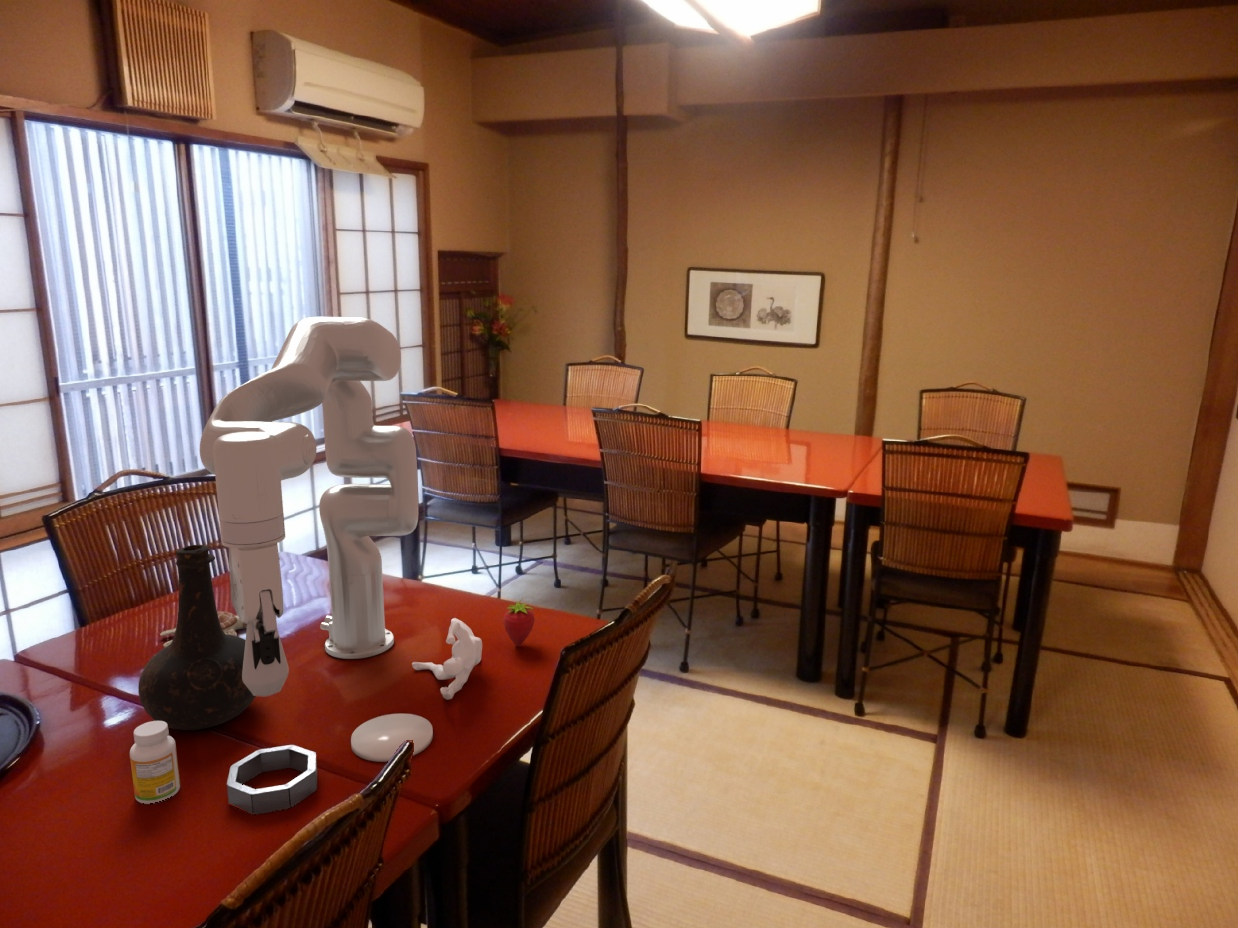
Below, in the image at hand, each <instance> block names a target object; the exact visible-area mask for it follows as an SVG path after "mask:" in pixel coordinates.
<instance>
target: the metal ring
mask: <svg viewBox="0 0 1238 928" xmlns="http://www.w3.org/2000/svg"><path fill="white" fill-rule="evenodd" d="M316 753H317V752H315V751H312V750H309V749H306V748H303V747H300V746H298V745H295V744H289V745H281V746H275V747H268V748H261V749H257V750H255V751H254V752H252V753H250V754H249V755H246V756H245V757H244V758H242V759H241V760H238V761H237V762H235V763H233V764H232V765H230V768H229V773H228V777H227V781H226V787H227V798H228V804H229V803H230V804H232V805H234V806H237V807H239V808H241V809H243V810H245V811H247V812H249V813H248V814H250V813H251V814H250V815H252V814H253V813H254V814H256V815H261V814H264V813H265V814H266V813H271V812H272V811H273V812H276V811H275V810H278V811H282V809H284V810H288V808H290V807H292V808H294V807H295V806H296V805H297V803H298V804H299V803H300V802H301V801H303V800H305V799H306V798H308V797H309V796H310V795H312V794H313V793H315V792H317V790H318V766H317V765H318V764H317V762H318V761H317V754H316ZM289 768H290V769H293V770H296V771H299V772H301V774H299V775H297V777H295V778H294V779H292V780H291V781H289V782H287V783H285V784H281V785H274V786H269V787H262V788H256V789H255V788H252V787H251V786H248V785H245V784H246V783H247V782H249V781H250V779H251V780H252V779H254V778H255V777H257V776H258V774H259V775H260V774H262V773H266V772H271V771H278V770H284V769H289ZM246 781H247V782H246ZM245 782H246V783H245ZM243 783H244V784H243ZM242 784H243V785H242ZM294 805H295V806H294ZM290 809H291V808H290ZM245 811H244V812H245ZM247 812H246V813H247ZM260 813H261V814H260ZM254 814H253V815H254Z"/></svg>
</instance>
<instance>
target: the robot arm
mask: <svg viewBox="0 0 1238 928" xmlns="http://www.w3.org/2000/svg"><path fill="white" fill-rule="evenodd" d="M401 363H402V353H401V348H400V344H399V342H398V340H397V338H396V337H395V336H394V334H393V333H392V332H391V331H390V330H388V329H387V328H385V327H384V326H383V325H381V324H380V323H379V322H377V321H375V320H373V319H370V318H367V317H352V316H351V317H350V316H349V317H347V316H312V317H310V316H309V317H306V318H302V319H300V320H299V321H297V322H296V323H294V325H292V327H291V329H290V330H289V332H288V334H287V336H286V338H285V340H284V342H283V344H282V346H281V348H280V351H279V352H278V354H277V357H276V358H275V360H274V363H273V365H272V367H271V369H270V370H268V371H265V372H264V373H261V374H259V375H257V376H256V377H253V378H252V379H250V380H247V382H245V383H243V384H240V385H239V386H237V387H235V388H234V389H232V390H231V391H229V392H228V393H227V394H226V395H223V397H222V398H221V399H220V400H219V402H217V404H216V406H215V407H214V409H213V411H212V413H211V414H210V417H209V418H208V420H207V422H206V424H205V426H204V428H203V431H202V434H201V436H200V437H201V438H200V440H199V441H200V442H199V457H200V461H201V463H202V465H203V467H204V468H205V469H206V470H207V471H208V472H209V473H210V474H212V475H214V477H215V484H216V485H215V486H216V487H215V489H216V496H217V506H218V508H217V509H218V516H219V517H218V518H219V526H220V528H219V529H220V538H221V540H220V541H221V544H222V546H223V547H225V548H228V565H229V580H230V581H229V582H230V585H229V586H230V601H231V605H232V606H233V608H234V610H235V612H236V614H237V616H239V618H240V620H241V621H242V622H243V623H245V624H246V626H247V624H249V622H252V625H253V634H254V640H253V641H252V651H253V661H254V668H255V669H256V668H257V666H258V663H259V661H260V658H261V662H262V663H263V664H265V665H267V664H271V663H273V662H274V660H275V658H276V660H277V661H278V663H279V664H280V663H281V660H280V647H279V636H280V635H279V636H278V633H279V630H278V631H277V629H278V624H277V622H278V621H277V618H278V619H280V618H281V617H282V616H283V614H284V593H283V581H282V579H283V578H282V572H281V571H282V570H281V564H280V562H281V561H280V555H279V553H280V552H279V545H278V544H279V543H280V542H283V541H284V540H285V538H286V531H285V530H286V529H285V515H284V506H283V505H284V501H283V491H282V489H283V488H282V481H284V480H289V479H293V478H296V477H299V476H301V475H303V474H305V473H306V472H307V471H308V470H309V469H310V468H311V467H312V465H313V463H314V462H315V459H316V456H317V448H318V447H317V441H316V439H315V435H314V433H312V431H311V430H310V429H309V428H308V427H307V426H306V425H303V424H301V423H298V422H294V421H280V420H284V419H287V418H288V419H289V418H291V417H294V416H298V415H300V414H303V413H306V412H310V411H311V410H314V409H316V408H318V407H319V406H320V405H321V406H322V415H323V416H322V417H323V418H322V419H323V433H324V434H323V436H324V437H323V438H324V452H325V453H324V454H325V460H326V466H327V469H328V470H329V472H330V473H331V474H332V475H334V476H336V477H337V476H338V477H340V478H350V479H351V478H353V479H354V478H355V479H356V478H359V479H368V478H369V479H370V478H371V479H375V478H377V479H386V480H387V481H388V482H389V484H385V483H384V484H382V483H381V484H379V483H376V484H374V483H373V484H372V483H344V484H337V485H333V486H331V487H329V488H327V489H326V490H325V491H324V492H323V493H322V495H321V497H320V498H319V505H318V507H319V508H318V509H319V517H320V522H321V525H322V528H323V532H324V533H323V534H324V538H325V543H326V550H327V551H326V552H327V563H328V574H329V576H328V578H329V592H330V594H329V595H330V607H331V609H330V610H331V611H330V612H331V615H329V614H328V615H326V616H325V617H324V620H323V622H321V623H320V625H319V628H320V629H321V630H324V631H328V635H329V637H328V638H327V639H326V641H325V643H324V650H325V652H326V653H327V654H328V655H329V656H332V657H334V658H337V659H345V660H356V659H365V658H370V657H375V656H377V655H379V654H380V655H381V654H382V653H384V652H386V651H388V650H389V649H390V648H392V647H393V645H394V643H395V638H394V636H395V635H394V633H392V631H390V630H388V629H386V622H385V620H386V619H385V601H384V585H383V584H384V582H383V581H384V580H383V578H384V577H383V563H382V562H383V561H382V555H381V552H380V549H379V548H378V546H377V544H376V543H375V542H374V541H373V540H372V538H371V537H382V536H383V537H389V536H392V537H394V536H395V537H396V536H398V537H399V536H400V537H401V536H407V535H410V534H411V533H413V532H414V531H415V530H416V528H417V525H418V521H419V489H418V488H419V486H418V484H419V483H418V461H417V459H418V458H417V448H416V443H415V438H414V437H413V434H412V432H411V431H410V430H408V428H405V427H402V426H398V425H376V424H375V423H374V421H373V418H374V417H373V399H372V397H371V394H370V393H369V390H368V389H367V387H366V386H365V385H364V383H363V382H386V381H391V380H393V379H394V378H395V377H396V376H397V374H398V373H399V371H400V367H401ZM257 614H262V617H257ZM259 623H263V626H260V628H259V627H258V624H259ZM246 631H247V629H246V630H245V632H246Z"/></svg>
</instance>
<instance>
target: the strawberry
mask: <svg viewBox="0 0 1238 928" xmlns="http://www.w3.org/2000/svg"><path fill="white" fill-rule="evenodd" d="M522 600H523V598H521V599H519V602H518V601H517V602H516V603H515V604H514V605H513V604H510V605H509V604H508V607H506V608H505V609H506V612H505V613H504V616H503V625H504V626H503V627H504V630H505V632H506V633H507V636H508V637H509V639H510V640H511V641H512V642H513V644H514V645H515V646H516V647H519V648H520V647H521V646H522V645H523V644H524V642H525V641H526V640H527V639H528V637H529V635H530V634H531V632H532V630H533V627H534V624H535V616H534V615H535V614H534V612H533V610H534V608H533V607H531V606H527V603H520V602H521V601H522ZM507 609H508V610H507Z"/></svg>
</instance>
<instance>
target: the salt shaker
mask: <svg viewBox="0 0 1238 928" xmlns="http://www.w3.org/2000/svg"><path fill="white" fill-rule="evenodd" d="M257 617H262V614H257ZM260 626H263V623H259V624H258V627H259V628H260ZM246 630H247V631H246ZM246 630H245V640H246V641H245V651H244V661H243V671H242V680H243V683H244V684H245V685H246V686H247V688H248V689H249V690H250V691H251V693H252V694H253V696H256V697H270V696H272V695H275V694H277V693H280V692H281V690H282V689H283V687H284V685H285V683H286V681H287V679H288V676H289V672H290V671H289V670H290V669H289V664H288V660H287V657H286V654H285V651H284V647H283V643H282V640H281V636H280V634H279V630H278V628H277V631H278V636H279V647H280V660H281V663H280V664H279V663H278V661H277V660H276V658H275V660H274V662H273V663H271V664H267V665H265V664H263V663H262V662H261V658H260V661H259V663H258V666H257V668H256V669H255V668H254V661H253V651H252V641H253V640H254V634H253V625H252V622H249V624H247V628H246Z"/></svg>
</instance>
